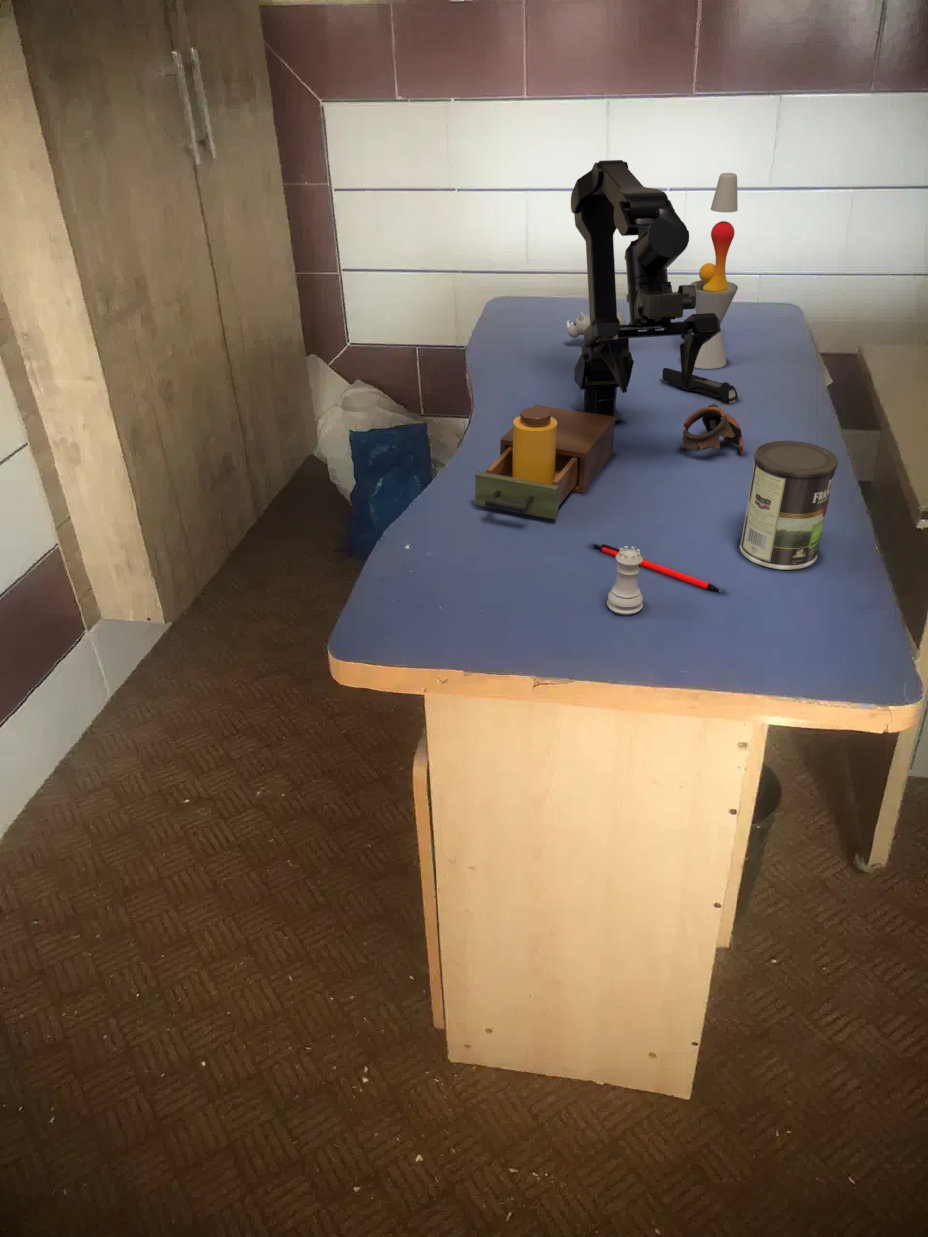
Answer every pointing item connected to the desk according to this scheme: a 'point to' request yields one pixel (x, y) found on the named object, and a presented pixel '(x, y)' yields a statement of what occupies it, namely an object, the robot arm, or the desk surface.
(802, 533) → the coffee can
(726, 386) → the black flashlight
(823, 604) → the desk surface
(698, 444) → the pottery mug
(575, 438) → the cabinet
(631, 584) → the rook chess piece
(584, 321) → the round bodied animal figurine
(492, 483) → the drawer
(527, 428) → the bottle
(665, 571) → the pen
